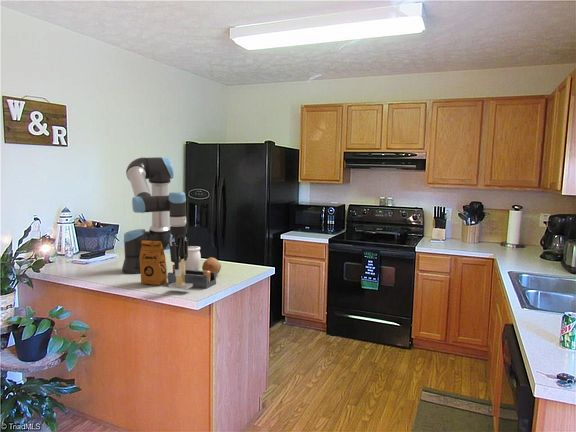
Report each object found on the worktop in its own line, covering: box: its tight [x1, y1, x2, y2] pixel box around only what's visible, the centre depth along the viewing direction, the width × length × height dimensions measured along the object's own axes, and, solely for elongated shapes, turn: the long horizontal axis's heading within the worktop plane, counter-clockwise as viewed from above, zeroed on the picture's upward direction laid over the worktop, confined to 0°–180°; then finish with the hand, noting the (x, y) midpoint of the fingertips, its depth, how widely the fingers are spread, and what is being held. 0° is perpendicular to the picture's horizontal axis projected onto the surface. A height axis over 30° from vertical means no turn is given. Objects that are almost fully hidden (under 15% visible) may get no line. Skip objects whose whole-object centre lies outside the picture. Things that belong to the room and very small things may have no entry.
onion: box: [201, 257, 222, 276], centre depth 229 cm, size 10×10×10 cm
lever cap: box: [168, 258, 193, 290], centre depth 199 cm, size 10×5×13 cm, turn 71°
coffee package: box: [139, 241, 168, 286], centre depth 214 cm, size 10×12×22 cm
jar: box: [185, 245, 202, 271], centre depth 232 cm, size 11×10×15 cm
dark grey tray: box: [167, 264, 217, 290], centre depth 212 cm, size 22×9×9 cm, turn 71°
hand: (180, 275), depth 199 cm, fingers closed on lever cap, 3 cm apart
